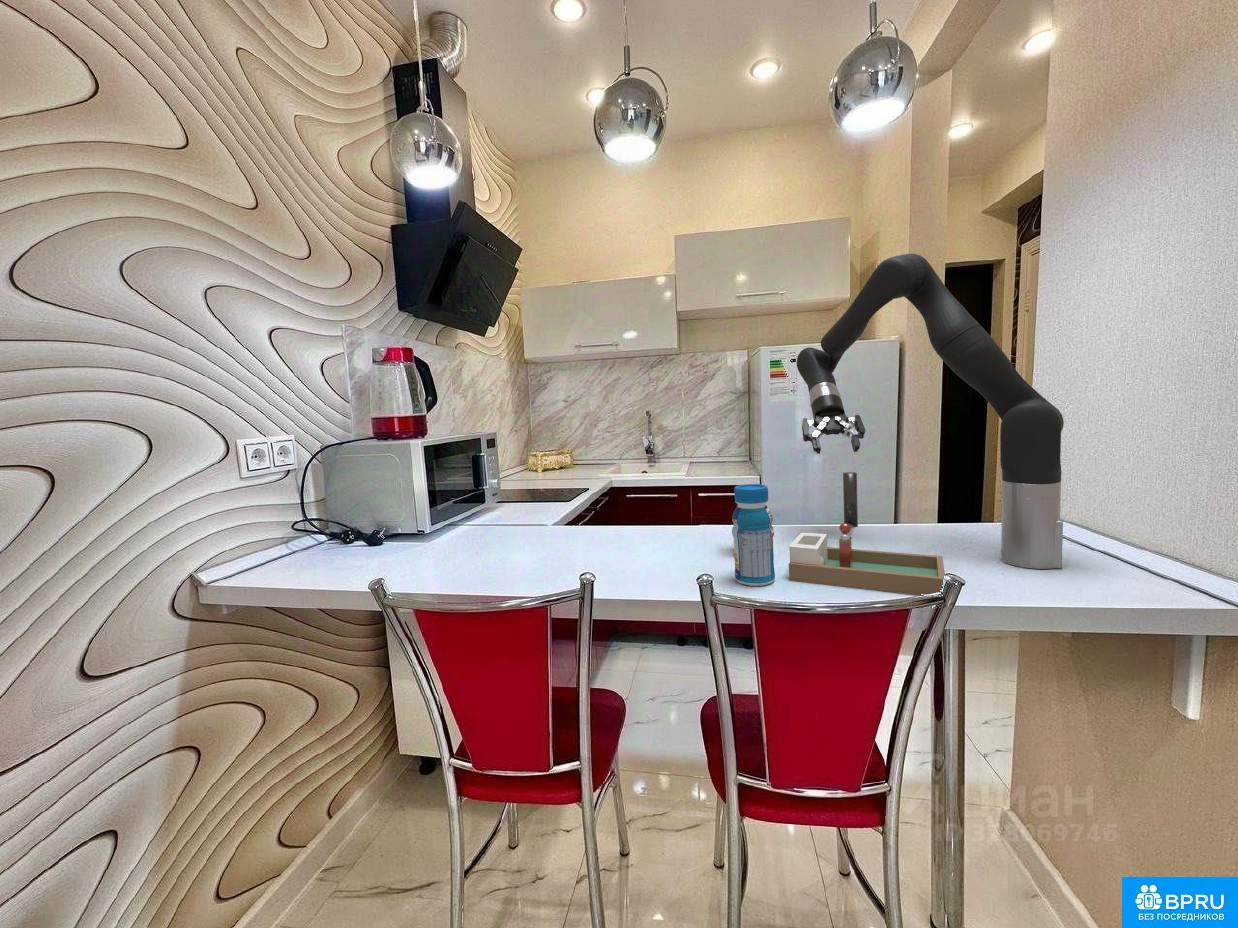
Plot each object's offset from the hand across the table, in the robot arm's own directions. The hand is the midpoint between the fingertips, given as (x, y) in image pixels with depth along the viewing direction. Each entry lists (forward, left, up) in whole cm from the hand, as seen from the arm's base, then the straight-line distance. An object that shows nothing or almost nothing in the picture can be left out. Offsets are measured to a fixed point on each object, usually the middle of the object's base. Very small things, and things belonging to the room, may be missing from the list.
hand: (837, 450), depth 119 cm
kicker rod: (-4, +16, -23) cm, 28 cm away
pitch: (-7, +21, -24) cm, 32 cm away
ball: (+2, +21, -22) cm, 30 cm away
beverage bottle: (+13, +30, -24) cm, 41 cm away
